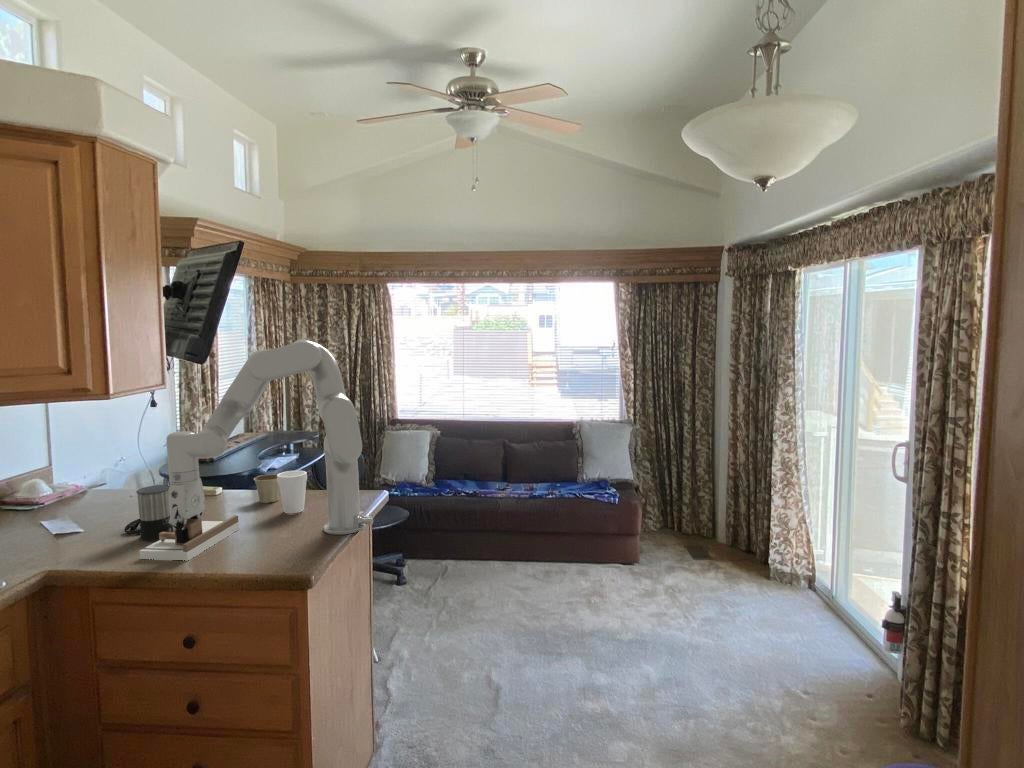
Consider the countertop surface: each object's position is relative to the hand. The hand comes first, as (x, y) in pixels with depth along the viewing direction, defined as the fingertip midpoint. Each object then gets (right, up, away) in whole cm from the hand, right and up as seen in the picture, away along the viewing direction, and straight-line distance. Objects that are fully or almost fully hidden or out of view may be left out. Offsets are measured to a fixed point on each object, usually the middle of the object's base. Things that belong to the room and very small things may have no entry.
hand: (189, 538), depth 184 cm
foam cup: (+18, 0, +36) cm, 40 cm away
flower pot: (+4, +2, +50) cm, 50 cm away
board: (-2, -3, +6) cm, 7 cm away
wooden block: (-3, -1, 0) cm, 3 cm away
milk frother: (-20, -3, +15) cm, 25 cm away
